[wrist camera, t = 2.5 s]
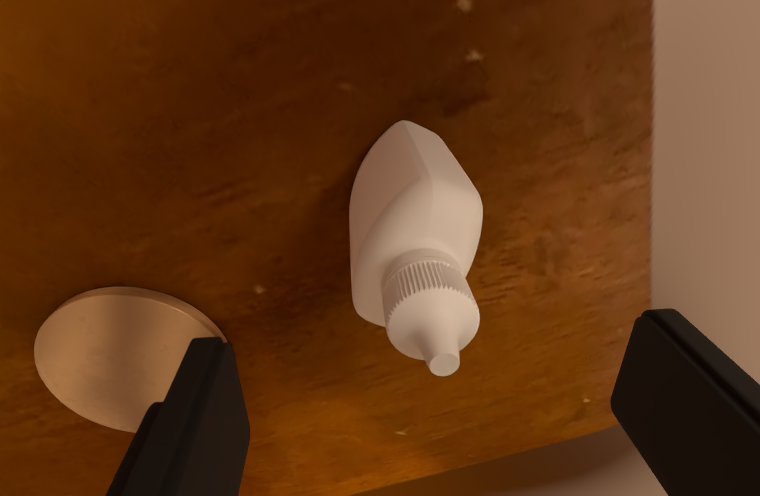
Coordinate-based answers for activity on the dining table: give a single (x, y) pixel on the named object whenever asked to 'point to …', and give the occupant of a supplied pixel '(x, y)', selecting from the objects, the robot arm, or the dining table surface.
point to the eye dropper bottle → (415, 245)
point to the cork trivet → (116, 351)
